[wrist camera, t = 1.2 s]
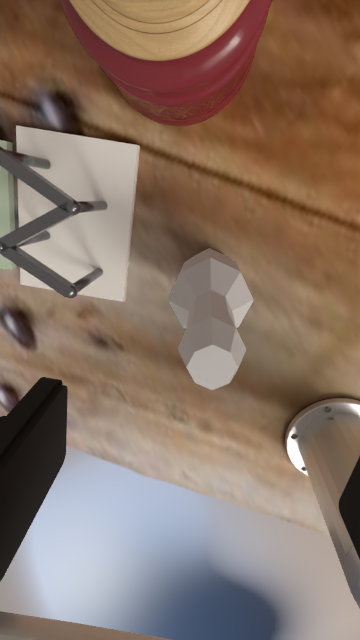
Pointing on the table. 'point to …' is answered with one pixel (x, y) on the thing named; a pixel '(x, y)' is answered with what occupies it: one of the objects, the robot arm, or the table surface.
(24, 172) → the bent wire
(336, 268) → the table surface
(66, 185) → the wire board
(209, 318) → the faceted bottle
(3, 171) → the pale green flat panel
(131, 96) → the canister
